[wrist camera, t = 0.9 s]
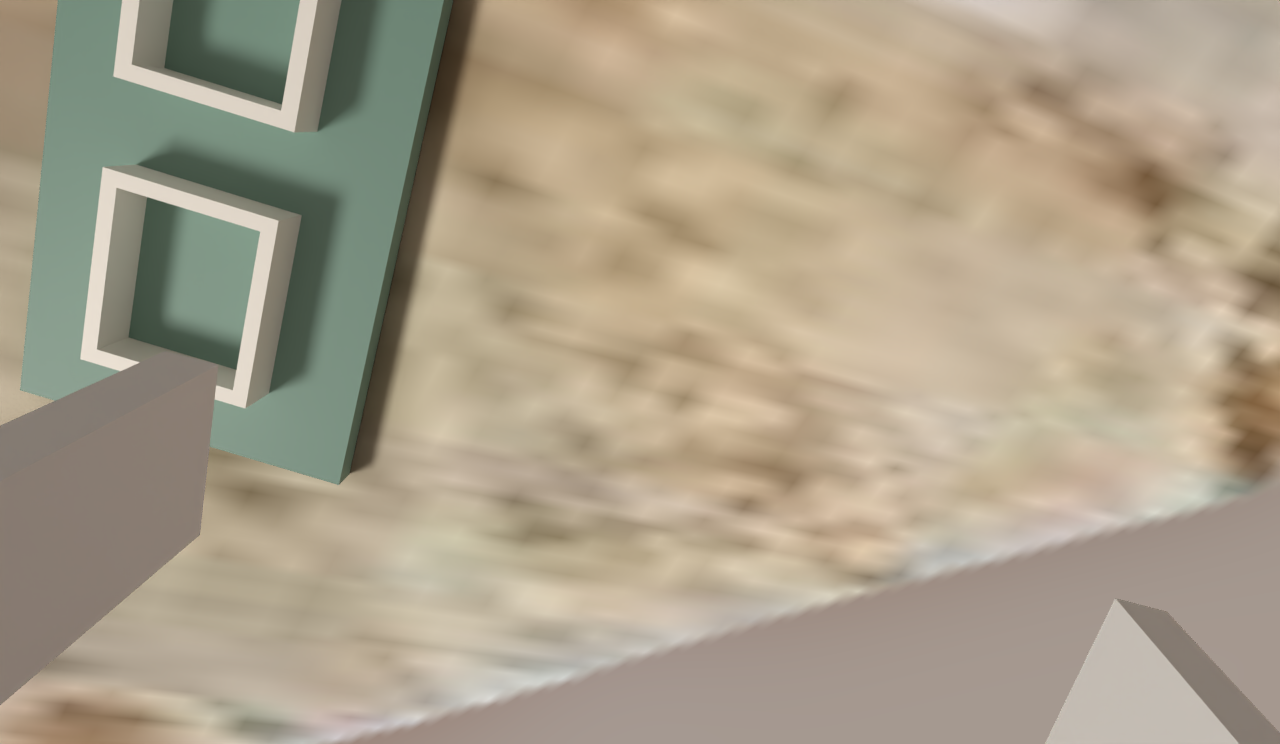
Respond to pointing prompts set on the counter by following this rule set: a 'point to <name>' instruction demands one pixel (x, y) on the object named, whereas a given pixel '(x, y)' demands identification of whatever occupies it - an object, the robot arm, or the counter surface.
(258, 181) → the board
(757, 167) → the counter surface
